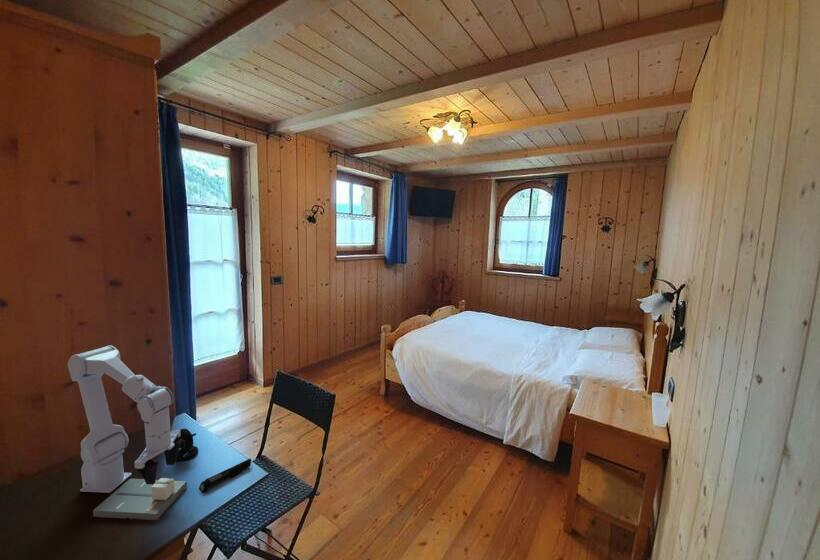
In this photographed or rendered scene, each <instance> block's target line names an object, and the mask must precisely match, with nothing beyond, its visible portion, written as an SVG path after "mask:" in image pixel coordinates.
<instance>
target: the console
mask: <svg viewBox="0 0 820 560" xmlns="http://www.w3.org/2000/svg"><path fill="white" fill-rule="evenodd" d="M158 480H159V479H156V481H155V483H156V482H157V481H158ZM187 482H188V481H187V480H174V486H175V491H174V492H173V493H172V494H171V495H170V496H169V497H168V498H167V499H166V500H156V499H152V488H151V487H152V486H153V485H154V484H155V483H154V484H153V485H152V484H146V482H145V480H144V478H130V477H129V479H128V480H126V482H124V483H122V485H121V486H120V487H119V488H117V489H115V491H114V492H113V493H112V494H110V495H109V496H108V497H107V498H106V499H105V500H103V501H102V502H101V503H99V505H97V506H96V507H95V508H94V509H93V510H92V514H93V517H94V518H109V519H110V518H111V519H126V518H129V519H131V520H144V521H145V520H147V521H148V520H149V521H158V519H159V518H160V517H162V515H163V514H164V513H165V512H166V511H167V509H168V508H170V506H171V505H172V504H173V503H174V502H175V501H176V500H177V499H178V498H179V496H180V495H181V494H182V493H183V492H184V491H185V490H186V489H187V487H188V483H187ZM134 518H135V519H134Z"/></svg>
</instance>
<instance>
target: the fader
mask: <svg viewBox="0 0 820 560" xmlns="http://www.w3.org/2000/svg"><path fill="white" fill-rule="evenodd" d="M157 480H158V481H157V482H156V483H155V484H154V485H153V486H152V487H151V488H152V499H156V500H166V499H167V498H168V497H169V496H170V495H171V494H172V493H173V492H174V491H175V486H174V481H175V479H174V478H168V477H160V478H159V479H157Z"/></svg>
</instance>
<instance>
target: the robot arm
mask: <svg viewBox="0 0 820 560" xmlns="http://www.w3.org/2000/svg"><path fill="white" fill-rule="evenodd" d="M67 367H68V372H69V376H70V378H71V381H72V382H77V385H78V388H79V391H80V396H81V400H82V404H83V407H84V411H85V415H86V419H87V423H88V427H89V432H88V434H87V435H86V436H85V437H84V438H83V439H82V440H81V442H80V458H81V460H82V463H83V464H82V466H81V470H80V472H81V481H82V488H80V492H83V493H84V492H86V493H107V494H110V493H111V492H113V491H114V490H116V488H118V487H119V486H120V485H121V484H123V482H125V481H127V479H128V478H130V477H131V476H132V474H133V473H132V472H124V471H125V470H124V469H125V468H124V459H123V453H124V452H125V448H127V447H128V445H129V436H128V434H127V432H126V431H125V429H124V426H122V425H120V424H114V423H113V420H112V415H111V411H110V409H109V404H108V400H107V397H106V392H105V391H106V390H105V388H104V384H103V380H102V377H103V375H104V374H105V375H107V376H108V377H110V378H111V379H113V380H115V381H116V382H118V383H119V384H121V385H122V386H121V391H122V392H123V393H124V394H125V395H127V396H128V397H129V398H130V399H131V400H133V401H134V402H136V407H137V410H138V412H139V413H140V414H139V415H140V418H141V420H142V421H143V422H144V423H143V424H144V433H145V434H144V435H145V436H144V438H145V448H144V450H143V451H142V452H141V454H140V455H139V457H138V458H137V459H136V460H135V461H134V462H133V463H134V464H133V469H134V470H136V471H137V472H138V474H140V475H141V477H142V479H144V480H145V482H146V484H152V485H153V484H154V483H155V481H156V480H157V468H158V466H159V462H158V461H154V460H152V459H154V458H155V457H156V456H158V455H160V454H162V453H164V458H165V463H166V465H167V466H175V464H176V462H177V461H176V458H177V454H178V451H179V448H180V446H181V444H182V442H183V439H178V438H179V437H180V436H181V432H180V430H181V429H173V430H172V431H171V419H170V407H169V406H171V405H172V404H173V402H174V394H173V393H172V391H171V390H170V388H169V387H166V386H161V385H156V384H155V383H153V382H152V381H151V380H149V378H147V377H146V376H144V375H143V374H135V373H134V372H133V371H132V370H131V369H130V368H129V367H128V366H127V365H126V364H125V363H124V362H123V361H122V360H121V353H120V351H119V349H117V347H115V346H113V345H106V346H103V347H99V348H96V349H92V350H89V351H85V352H81V353H75V354H73V355H71V356H70V357H69V359H68V362H67ZM180 449H181V448H180Z"/></svg>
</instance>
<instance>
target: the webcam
mask: <svg viewBox="0 0 820 560" xmlns="http://www.w3.org/2000/svg"><path fill="white" fill-rule="evenodd" d="M179 430H180V432H181V436H180V437H179V438H178V439H183V442H182V444H181V446H180V448H179V451H178V454H177V458H176V462H177V463H178V462H179V463H181V462H186V461H189V460H192V459H193V458H194V457H196V456H197V454H198V453H199V448H198V446H195V445H194V437H195V436H196V435H197V433H192V432H191V431H190V430H189V429H187V428H181V429H179ZM191 452H192V453H191ZM188 453H189V454H188ZM190 453H191V454H190ZM187 454H188V455H187Z"/></svg>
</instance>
